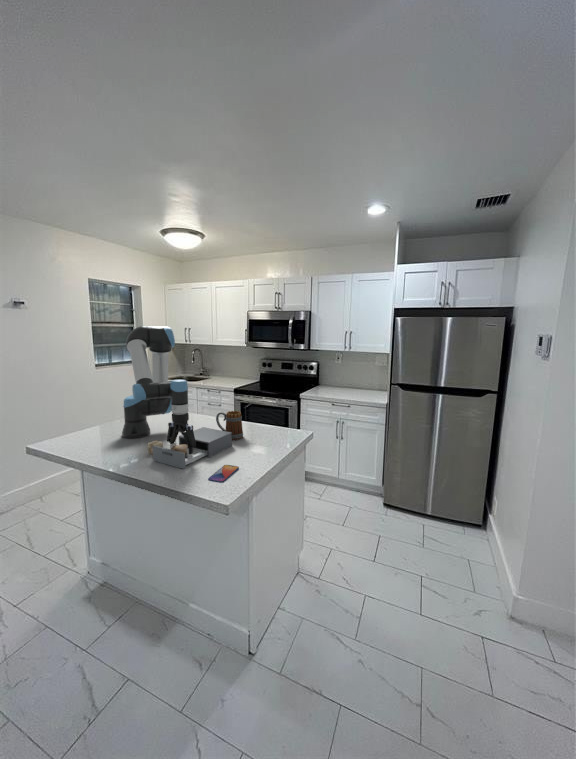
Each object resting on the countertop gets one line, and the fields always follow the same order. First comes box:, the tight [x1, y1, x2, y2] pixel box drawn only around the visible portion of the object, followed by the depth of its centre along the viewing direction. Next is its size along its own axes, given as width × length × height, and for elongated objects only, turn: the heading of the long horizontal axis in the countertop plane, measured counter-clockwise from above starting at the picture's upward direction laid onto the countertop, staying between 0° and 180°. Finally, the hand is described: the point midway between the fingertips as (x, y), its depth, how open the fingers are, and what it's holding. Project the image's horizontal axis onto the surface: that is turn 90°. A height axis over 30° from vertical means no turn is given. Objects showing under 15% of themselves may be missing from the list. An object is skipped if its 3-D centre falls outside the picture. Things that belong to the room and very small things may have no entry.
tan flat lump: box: [171, 444, 188, 456], centre depth 152 cm, size 9×9×3 cm
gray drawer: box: [152, 445, 208, 470], centre depth 152 cm, size 17×20×7 cm
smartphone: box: [207, 464, 240, 483], centre depth 137 cm, size 7×15×1 cm, turn 162°
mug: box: [215, 410, 244, 441], centre depth 184 cm, size 16×11×15 cm
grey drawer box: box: [178, 426, 233, 458], centre depth 167 cm, size 18×20×8 cm
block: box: [147, 440, 164, 455], centre depth 160 cm, size 5×5×5 cm
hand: (181, 458), depth 152 cm, fingers open, 9 cm apart
